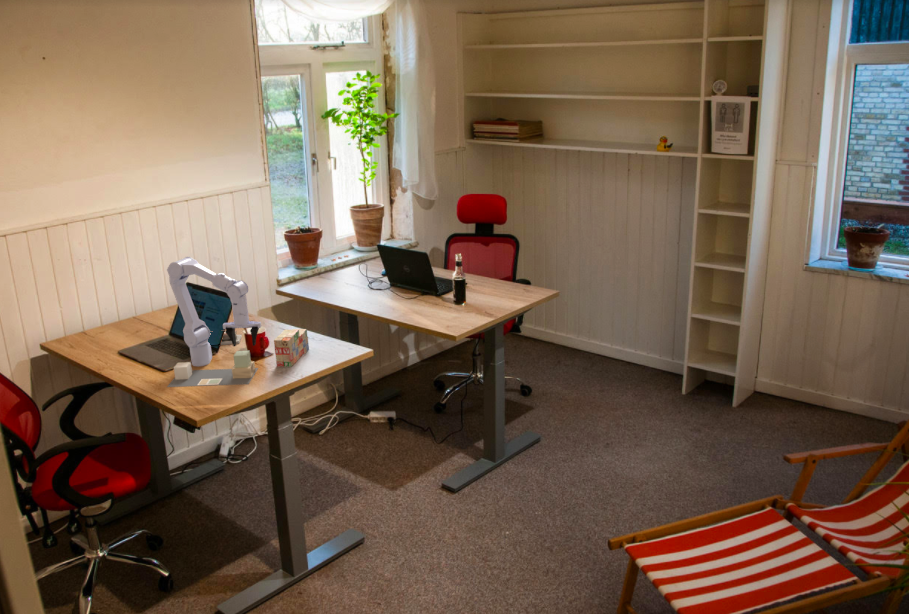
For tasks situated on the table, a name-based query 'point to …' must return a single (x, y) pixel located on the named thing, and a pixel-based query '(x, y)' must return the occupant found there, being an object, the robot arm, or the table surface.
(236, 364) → the sage cube
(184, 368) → the offwhite cube
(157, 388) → the table surface
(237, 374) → the base block
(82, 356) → the table surface
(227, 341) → the stapler
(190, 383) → the mat
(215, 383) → the card
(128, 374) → the table surface
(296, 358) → the stack of blocks
